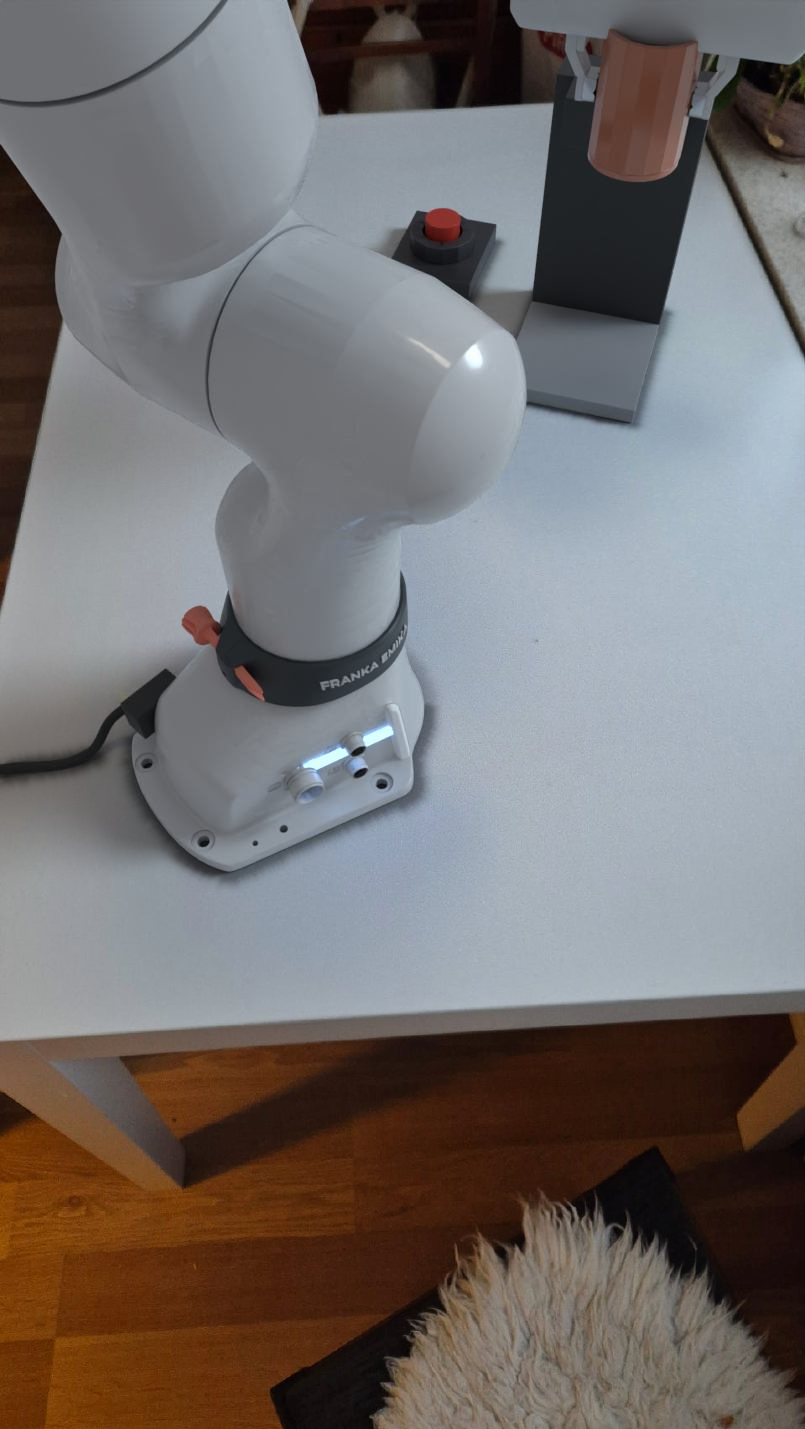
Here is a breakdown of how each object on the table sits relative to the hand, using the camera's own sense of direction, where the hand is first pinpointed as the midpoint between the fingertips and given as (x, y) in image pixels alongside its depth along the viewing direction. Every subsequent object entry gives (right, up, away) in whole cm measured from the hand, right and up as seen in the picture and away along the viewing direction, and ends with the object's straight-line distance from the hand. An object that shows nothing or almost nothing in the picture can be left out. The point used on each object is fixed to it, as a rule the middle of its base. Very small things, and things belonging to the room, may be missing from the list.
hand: (642, 107), depth 73 cm
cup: (0, -2, +3) cm, 4 cm away
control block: (-13, +4, +35) cm, 38 cm away
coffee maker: (0, -8, +27) cm, 28 cm away
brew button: (-13, +6, +32) cm, 35 cm away
